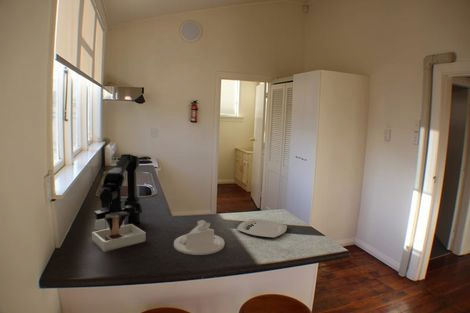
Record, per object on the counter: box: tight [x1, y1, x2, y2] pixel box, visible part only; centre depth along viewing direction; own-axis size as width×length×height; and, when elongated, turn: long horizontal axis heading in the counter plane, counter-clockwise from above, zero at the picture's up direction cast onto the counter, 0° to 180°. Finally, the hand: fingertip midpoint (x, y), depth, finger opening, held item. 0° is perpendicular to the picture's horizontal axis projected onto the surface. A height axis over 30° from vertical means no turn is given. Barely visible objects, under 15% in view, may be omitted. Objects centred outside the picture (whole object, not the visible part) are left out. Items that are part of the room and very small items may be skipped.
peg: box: [111, 215, 119, 235], centre depth 146 cm, size 4×4×8 cm
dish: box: [173, 219, 226, 256], centre depth 148 cm, size 25×25×11 cm
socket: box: [105, 233, 125, 241], centre depth 146 cm, size 7×7×2 cm
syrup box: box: [94, 215, 125, 231], centre depth 165 cm, size 6×6×14 cm
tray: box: [91, 223, 147, 253], centre depth 148 cm, size 20×16×4 cm
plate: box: [236, 218, 288, 239], centre depth 171 cm, size 27×27×2 cm
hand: (115, 229), depth 146 cm, fingers closed on peg, 4 cm apart
